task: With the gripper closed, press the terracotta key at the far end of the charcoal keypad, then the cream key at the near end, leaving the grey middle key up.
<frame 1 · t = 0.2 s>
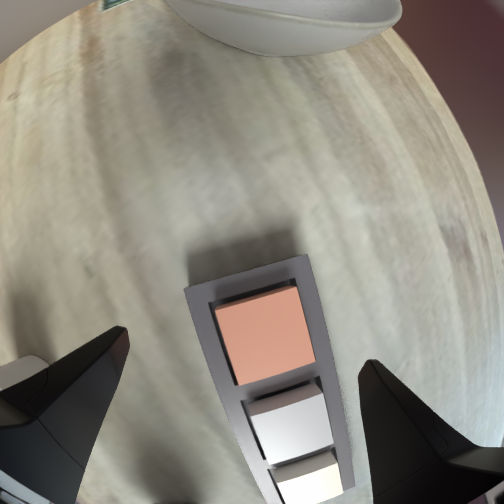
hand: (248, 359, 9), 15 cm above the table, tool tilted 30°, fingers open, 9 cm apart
grey key: (292, 425, 20), point 4 cm above the table, slide at 0.0 cm
decorative bowl: (266, 29, 26), on the table
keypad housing: (283, 406, 23), on the table
terracotta key: (265, 334, 20), point 4 cm above the table, slide at 0.0 cm
cream key: (309, 483, 19), point 4 cm above the table, slide at 0.0 cm
cup: (48, 393, 21), on the table
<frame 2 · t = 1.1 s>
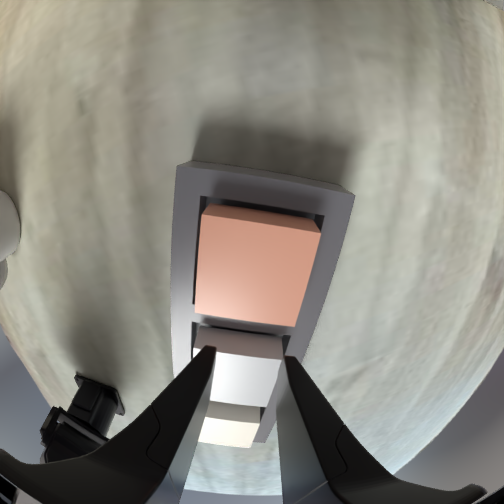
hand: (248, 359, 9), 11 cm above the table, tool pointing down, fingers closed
grey key: (234, 370, 19), point 4 cm above the table, slide at 0.0 cm
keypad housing: (238, 338, 23), on the table
terracotta key: (253, 266, 16), point 4 cm above the table, slide at 0.0 cm
cream key: (224, 424, 23), point 4 cm above the table, slide at 0.0 cm
cup: (7, 232, 20), on the table
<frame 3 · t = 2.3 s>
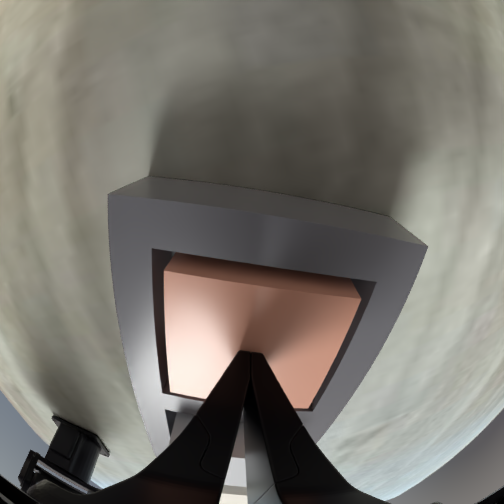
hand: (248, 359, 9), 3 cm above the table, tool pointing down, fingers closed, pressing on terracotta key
grey key: (227, 456, 12), point 4 cm above the table, slide at 0.0 cm
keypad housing: (231, 408, 16), on the table
terracotta key: (251, 336, 10), point 2 cm above the table, slide at 1.5 cm, touching gripper
cream key: (218, 488, 16), point 4 cm above the table, slide at 0.0 cm
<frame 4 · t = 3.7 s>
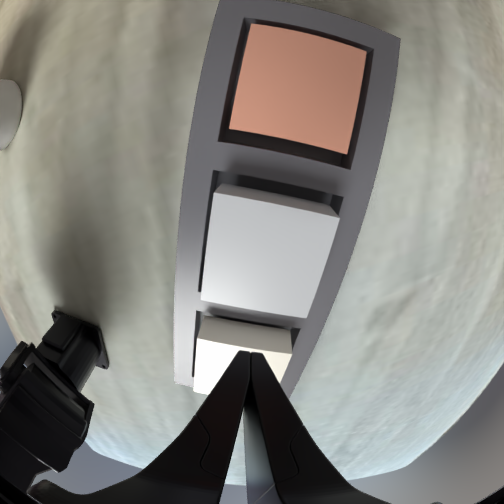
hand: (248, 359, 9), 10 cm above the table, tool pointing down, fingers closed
grey key: (265, 252, 15), point 4 cm above the table, slide at 0.0 cm
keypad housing: (265, 228, 18), on the table
terracotta key: (298, 87, 12), point 2 cm above the table, slide at 1.5 cm
cream key: (239, 364, 18), point 4 cm above the table, slide at 0.0 cm
cup: (5, 128, 15), on the table
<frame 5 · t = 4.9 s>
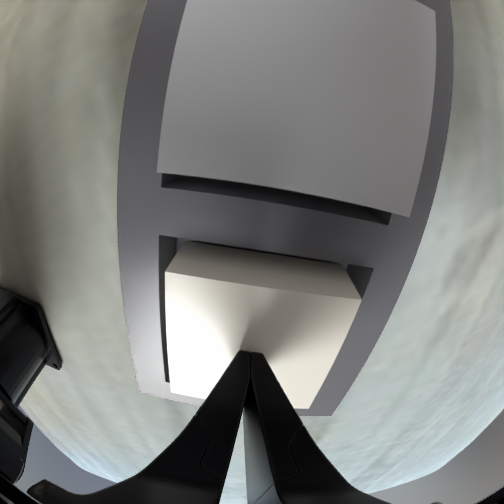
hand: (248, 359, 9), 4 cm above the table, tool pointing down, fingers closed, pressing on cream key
grey key: (306, 71, 6), point 4 cm above the table, slide at 0.0 cm
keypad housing: (290, 93, 9), on the table
cream key: (252, 336, 10), point 3 cm above the table, slide at 1.0 cm, touching gripper
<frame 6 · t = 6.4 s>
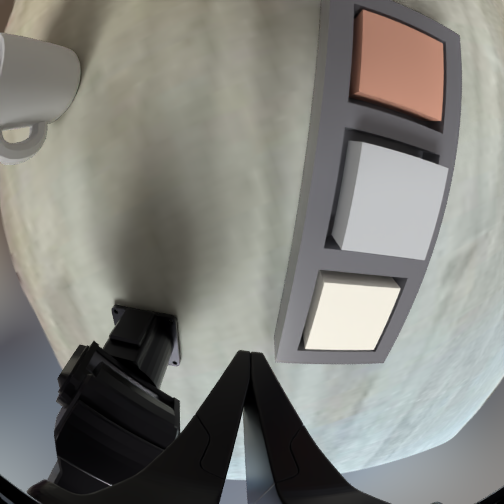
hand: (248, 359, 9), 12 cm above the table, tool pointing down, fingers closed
grey key: (391, 201, 14), point 4 cm above the table, slide at 0.0 cm
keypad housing: (368, 188, 18), on the table
terracotta key: (398, 66, 12), point 2 cm above the table, slide at 1.5 cm
cream key: (348, 311, 20), point 2 cm above the table, slide at 1.5 cm
cup: (54, 100, 15), on the table
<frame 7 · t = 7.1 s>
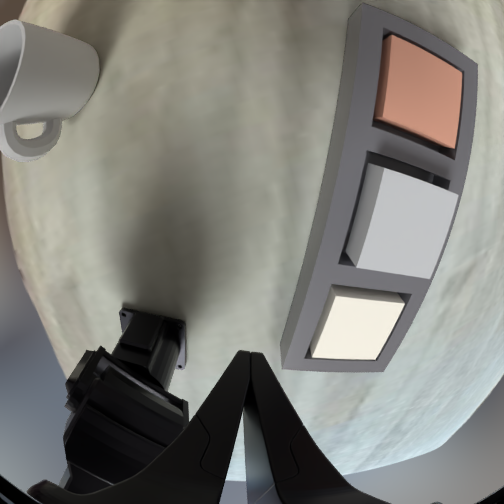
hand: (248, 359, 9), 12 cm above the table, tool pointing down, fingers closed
grey key: (403, 223, 15), point 4 cm above the table, slide at 0.0 cm
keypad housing: (380, 207, 19), on the table
terracotta key: (418, 92, 13), point 2 cm above the table, slide at 1.5 cm
cream key: (354, 322, 20), point 2 cm above the table, slide at 1.5 cm
cup: (69, 96, 15), on the table
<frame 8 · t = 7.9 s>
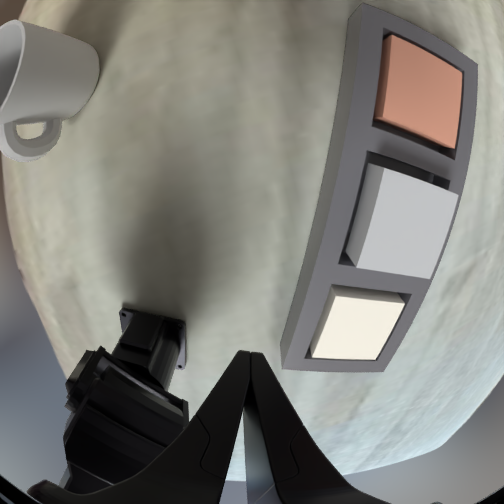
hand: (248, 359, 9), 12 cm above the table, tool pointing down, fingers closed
grey key: (403, 223, 15), point 4 cm above the table, slide at 0.0 cm
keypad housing: (380, 207, 19), on the table
terracotta key: (418, 92, 13), point 2 cm above the table, slide at 1.5 cm
cream key: (354, 322, 20), point 2 cm above the table, slide at 1.5 cm
cup: (69, 96, 15), on the table
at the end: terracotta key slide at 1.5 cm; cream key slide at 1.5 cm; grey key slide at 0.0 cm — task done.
